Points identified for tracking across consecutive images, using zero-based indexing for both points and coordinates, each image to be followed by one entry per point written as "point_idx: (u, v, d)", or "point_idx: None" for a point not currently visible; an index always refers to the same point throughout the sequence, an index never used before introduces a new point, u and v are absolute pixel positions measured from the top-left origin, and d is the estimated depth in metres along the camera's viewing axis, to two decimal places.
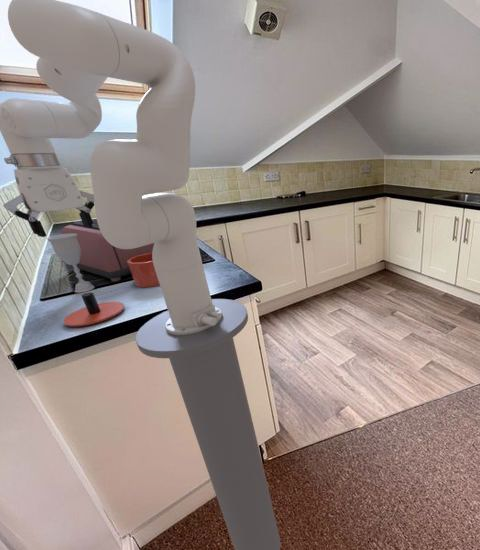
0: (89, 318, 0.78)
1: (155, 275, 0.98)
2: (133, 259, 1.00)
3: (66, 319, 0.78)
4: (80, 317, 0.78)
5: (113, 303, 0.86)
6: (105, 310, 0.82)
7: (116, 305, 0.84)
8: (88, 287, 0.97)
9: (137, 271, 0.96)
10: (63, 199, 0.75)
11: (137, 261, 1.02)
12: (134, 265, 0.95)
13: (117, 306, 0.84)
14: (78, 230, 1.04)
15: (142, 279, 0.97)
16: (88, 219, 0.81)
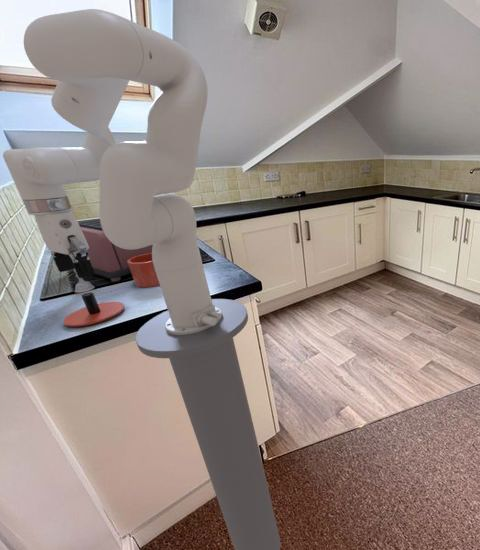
0: (89, 318, 0.78)
1: (155, 275, 0.98)
2: (133, 259, 1.00)
3: (66, 319, 0.78)
4: (80, 317, 0.78)
5: (113, 303, 0.86)
6: (105, 310, 0.82)
7: (116, 305, 0.84)
8: (88, 287, 0.97)
9: (137, 271, 0.96)
10: None
11: (137, 261, 1.02)
12: (134, 265, 0.95)
13: (117, 306, 0.84)
14: None
15: (142, 279, 0.97)
16: (71, 259, 0.79)
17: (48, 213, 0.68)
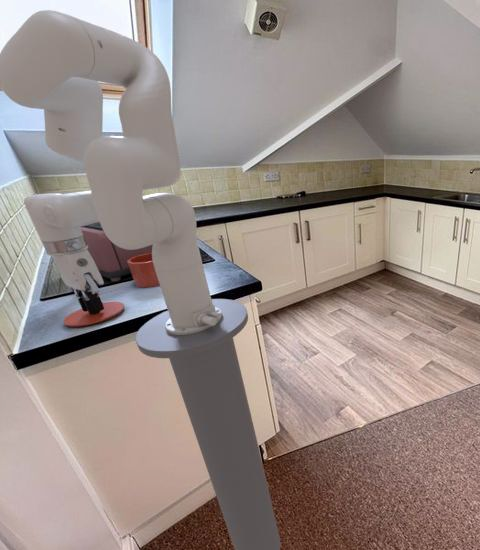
0: (89, 318, 0.78)
1: (155, 275, 0.98)
2: (133, 259, 1.00)
3: (66, 319, 0.78)
4: (80, 317, 0.78)
5: (113, 303, 0.86)
6: (105, 310, 0.82)
7: (116, 305, 0.84)
8: None
9: (137, 271, 0.96)
10: None
11: (137, 261, 1.02)
12: (134, 265, 0.95)
13: (117, 306, 0.84)
14: None
15: (142, 279, 0.97)
16: None
17: (66, 253, 0.71)
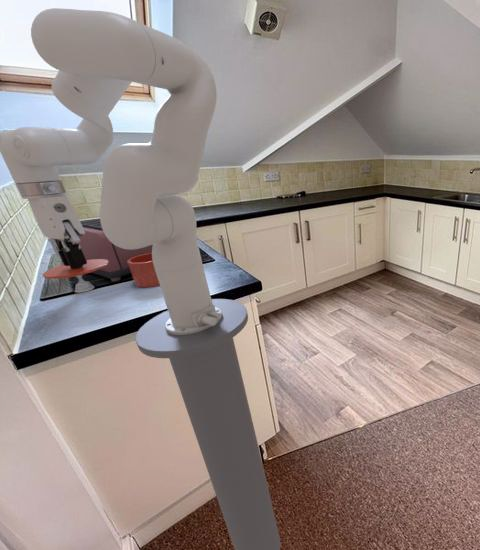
0: (70, 271, 0.73)
1: (155, 275, 0.98)
2: (133, 259, 1.00)
3: (46, 273, 0.73)
4: (60, 271, 0.73)
5: (97, 260, 0.81)
6: (88, 265, 0.77)
7: (100, 261, 0.79)
8: (88, 287, 0.97)
9: (137, 271, 0.96)
10: None
11: (137, 261, 1.02)
12: (134, 265, 0.95)
13: (101, 262, 0.79)
14: None
15: (142, 279, 0.97)
16: None
17: (42, 197, 0.66)
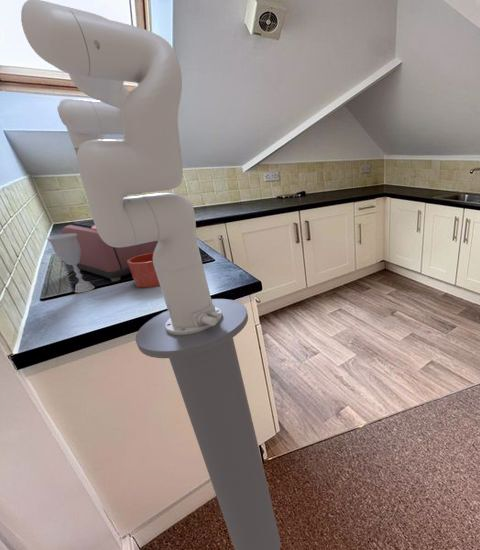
0: None
1: (155, 275, 0.98)
2: (133, 259, 1.00)
3: (93, 227, 0.86)
4: None
5: None
6: None
7: None
8: (88, 287, 0.97)
9: (137, 271, 0.96)
10: None
11: (137, 261, 1.02)
12: (134, 265, 0.95)
13: None
14: (78, 230, 1.04)
15: (142, 279, 0.97)
16: None
17: None
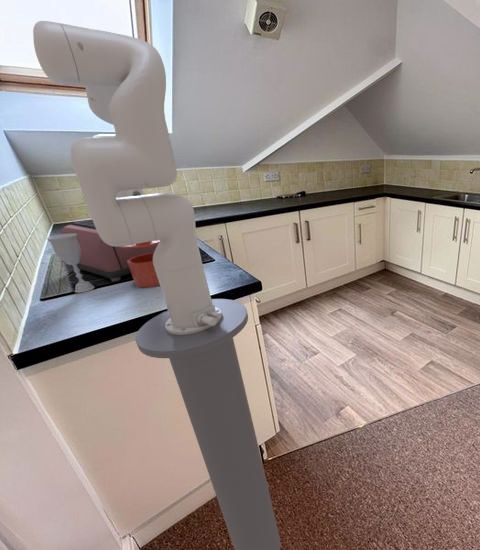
0: (140, 243, 0.95)
1: (155, 275, 0.98)
2: (133, 259, 1.00)
3: None
4: None
5: None
6: None
7: None
8: (88, 287, 0.97)
9: (137, 271, 0.96)
10: None
11: (137, 261, 1.02)
12: (134, 265, 0.95)
13: None
14: (78, 230, 1.04)
15: (142, 279, 0.97)
16: None
17: None
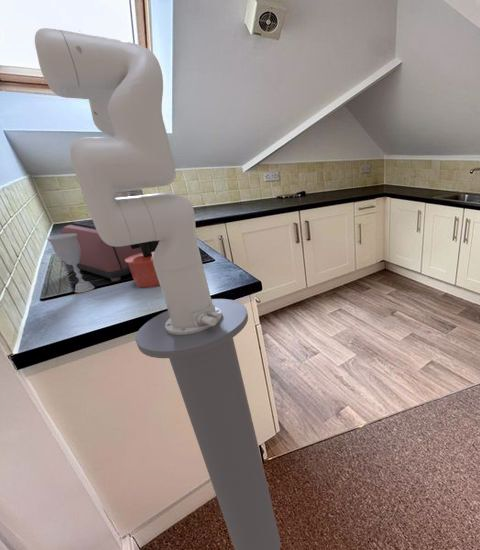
0: (145, 259, 0.97)
1: (155, 275, 0.98)
2: None
3: (126, 259, 0.97)
4: (137, 258, 0.98)
5: None
6: None
7: None
8: (88, 287, 0.97)
9: (137, 271, 0.96)
10: None
11: None
12: (134, 265, 0.95)
13: None
14: (78, 230, 1.04)
15: (142, 279, 0.97)
16: None
17: None
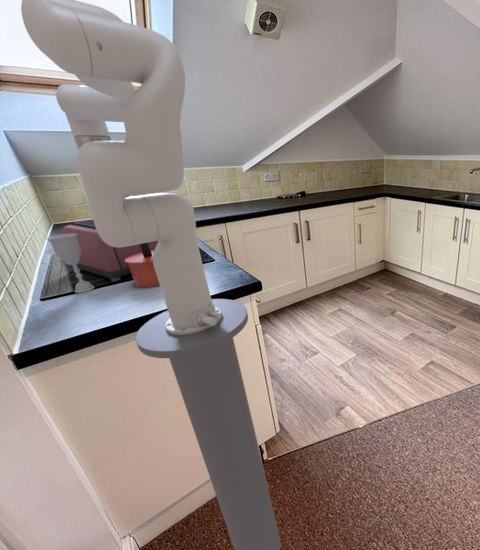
0: (145, 259, 0.97)
1: (155, 275, 0.98)
2: None
3: (126, 259, 0.97)
4: (137, 258, 0.98)
5: None
6: None
7: None
8: (88, 287, 0.97)
9: (137, 271, 0.96)
10: None
11: None
12: (134, 265, 0.95)
13: None
14: (78, 230, 1.04)
15: (142, 279, 0.97)
16: None
17: None
